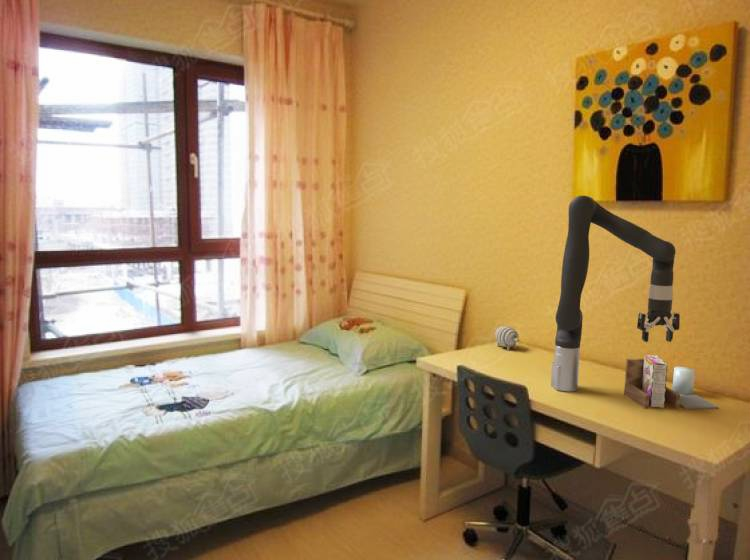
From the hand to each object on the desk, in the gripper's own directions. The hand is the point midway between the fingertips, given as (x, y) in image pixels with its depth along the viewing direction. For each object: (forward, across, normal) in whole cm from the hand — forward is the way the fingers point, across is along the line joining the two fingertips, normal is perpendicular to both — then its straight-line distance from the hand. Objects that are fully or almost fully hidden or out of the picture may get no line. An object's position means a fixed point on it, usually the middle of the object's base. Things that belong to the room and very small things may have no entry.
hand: (657, 341), depth 186 cm
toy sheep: (+23, -32, +74) cm, 84 cm away
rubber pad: (+23, +14, -1) cm, 27 cm away
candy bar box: (+23, 0, 0) cm, 23 cm away
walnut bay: (+23, 0, 0) cm, 23 cm away
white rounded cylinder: (+23, +18, +10) cm, 31 cm away
